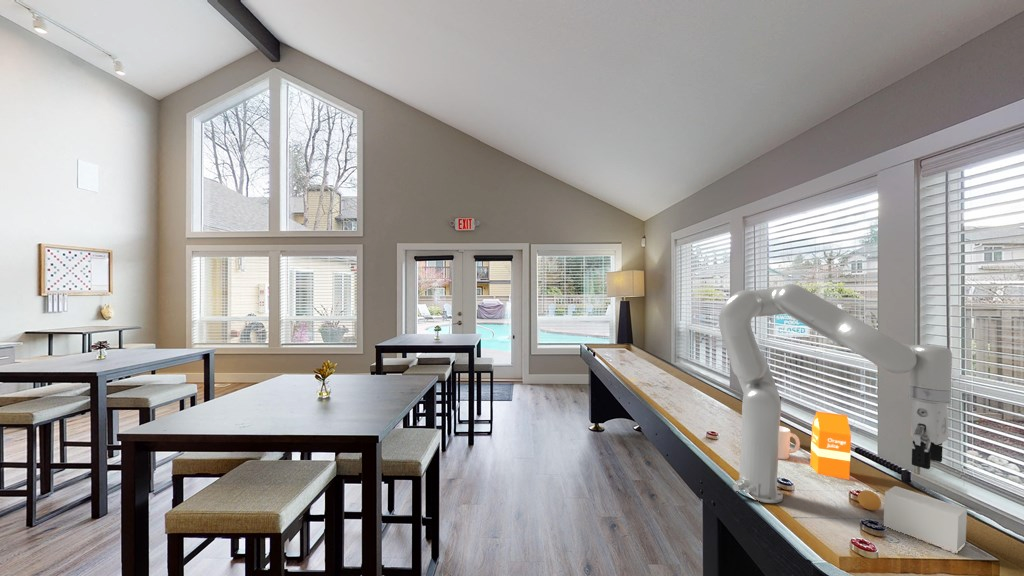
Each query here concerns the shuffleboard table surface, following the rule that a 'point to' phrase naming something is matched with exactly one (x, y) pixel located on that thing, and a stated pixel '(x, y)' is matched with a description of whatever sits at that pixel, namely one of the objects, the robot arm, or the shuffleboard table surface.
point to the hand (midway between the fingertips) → (927, 463)
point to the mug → (786, 443)
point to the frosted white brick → (925, 517)
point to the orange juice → (831, 445)
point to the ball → (869, 500)
